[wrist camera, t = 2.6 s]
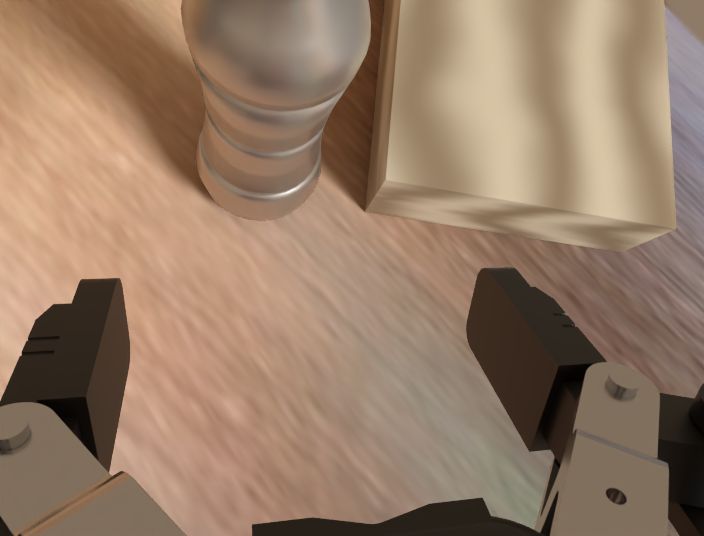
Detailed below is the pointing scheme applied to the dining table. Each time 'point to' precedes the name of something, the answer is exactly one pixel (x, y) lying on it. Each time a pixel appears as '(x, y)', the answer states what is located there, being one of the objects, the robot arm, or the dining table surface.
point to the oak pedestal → (526, 119)
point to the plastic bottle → (270, 94)
